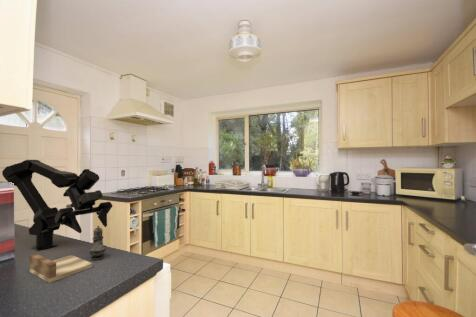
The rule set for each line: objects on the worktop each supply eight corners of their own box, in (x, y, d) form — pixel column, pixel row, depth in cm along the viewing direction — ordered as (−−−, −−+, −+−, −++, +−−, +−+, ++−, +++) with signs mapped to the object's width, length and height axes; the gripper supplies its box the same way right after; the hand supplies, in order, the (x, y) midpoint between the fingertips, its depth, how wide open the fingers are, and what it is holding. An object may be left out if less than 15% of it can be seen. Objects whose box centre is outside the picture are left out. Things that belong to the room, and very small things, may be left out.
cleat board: (29, 271, 73) (29, 255, 73) (71, 258, 84) (71, 244, 84) (49, 283, 66) (49, 265, 67) (92, 266, 77) (92, 251, 77)
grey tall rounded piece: (86, 262, 80) (87, 228, 81) (90, 256, 86) (90, 224, 86) (105, 259, 83) (106, 226, 83) (107, 253, 88) (108, 222, 88)
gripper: (58, 186, 81) (74, 221, 75) (110, 182, 97) (126, 211, 91) (48, 206, 84) (62, 241, 79) (99, 199, 101) (114, 228, 95)
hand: (94, 229), depth 86 cm, fingers open, 9 cm apart
